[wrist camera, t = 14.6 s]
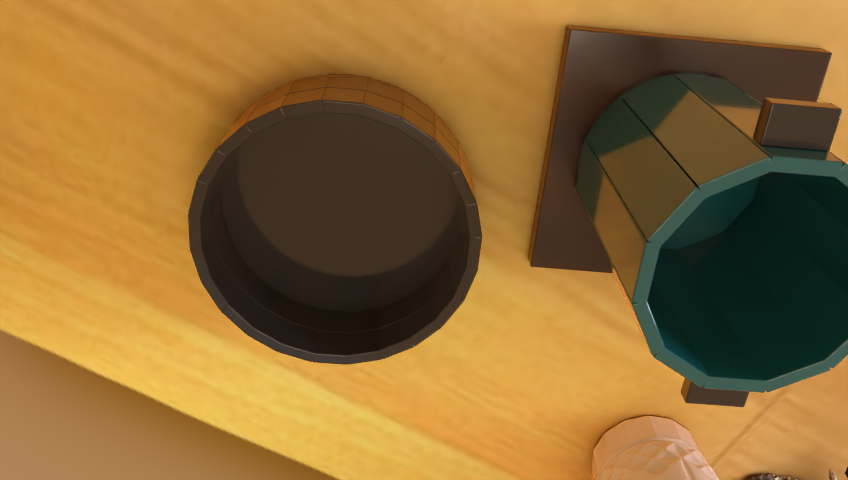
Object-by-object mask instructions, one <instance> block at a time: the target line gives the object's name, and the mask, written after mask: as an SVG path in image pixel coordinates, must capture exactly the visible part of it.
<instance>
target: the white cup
mask: <svg viewBox="0 0 848 480" xmlns="http://www.w3.org/2000/svg"><path fill="white" fill-rule="evenodd" d="M592 473H593V478H594V480H719V479H718V477H717V475H716V474H715V472H714V471H713V469H712V467H711V465H709V464H708V462H707V461H706V460H705V458H704V457H703V455H702V453H701V452H700V450H699V448H698V446H697V445H696V443H695V441H694V439H693V437H692V435H691V433H690V432H689V430H687V429H686V428H684V427H683V426H681V425H679V424H678V423H676V422H675V421H673V420H672V419H668V418H662V417H655V416H643V417H638V418H634V419H629V420H625V421H623V422H621V423H619V424H618V425H616V426H615V427H613V428H612V429H610V430H609V431H607V432H605V433H604V435H603V436H602V438H601V439H600V441H599V442H598V444H597V445H596V447H595V448H594V450H593V458H592Z"/></svg>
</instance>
